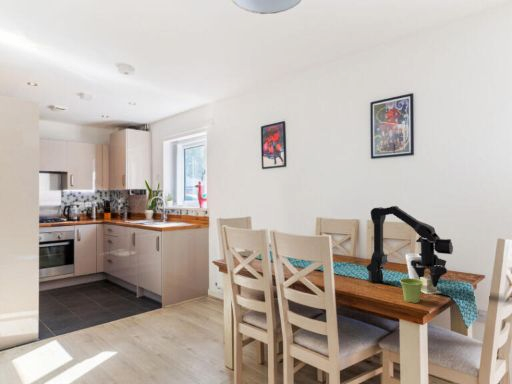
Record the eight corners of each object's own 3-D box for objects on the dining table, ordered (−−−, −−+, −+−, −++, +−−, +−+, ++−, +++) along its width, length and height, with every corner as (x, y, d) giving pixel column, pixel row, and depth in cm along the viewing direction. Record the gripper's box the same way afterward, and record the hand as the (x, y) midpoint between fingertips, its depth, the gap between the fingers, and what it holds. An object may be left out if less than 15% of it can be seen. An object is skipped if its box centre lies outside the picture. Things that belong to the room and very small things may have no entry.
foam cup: (427, 281, 173) (427, 257, 173) (409, 281, 175) (408, 256, 175) (422, 277, 183) (421, 253, 183) (404, 276, 185) (404, 253, 185)
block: (427, 292, 155) (426, 279, 155) (420, 289, 160) (420, 276, 160) (436, 291, 156) (436, 278, 156) (429, 288, 161) (429, 276, 161)
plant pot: (429, 302, 142) (428, 282, 142) (411, 305, 139) (410, 285, 139) (412, 296, 151) (412, 277, 151) (395, 298, 148) (395, 279, 148)
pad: (426, 293, 154) (426, 293, 154) (415, 289, 162) (415, 288, 162) (442, 292, 155) (442, 292, 155) (430, 287, 163) (430, 287, 163)
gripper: (457, 254, 150) (458, 288, 150) (429, 247, 169) (430, 278, 169) (434, 255, 148) (435, 290, 148) (409, 249, 167) (410, 279, 167)
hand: (428, 284), depth 158 cm, fingers open, 9 cm apart
